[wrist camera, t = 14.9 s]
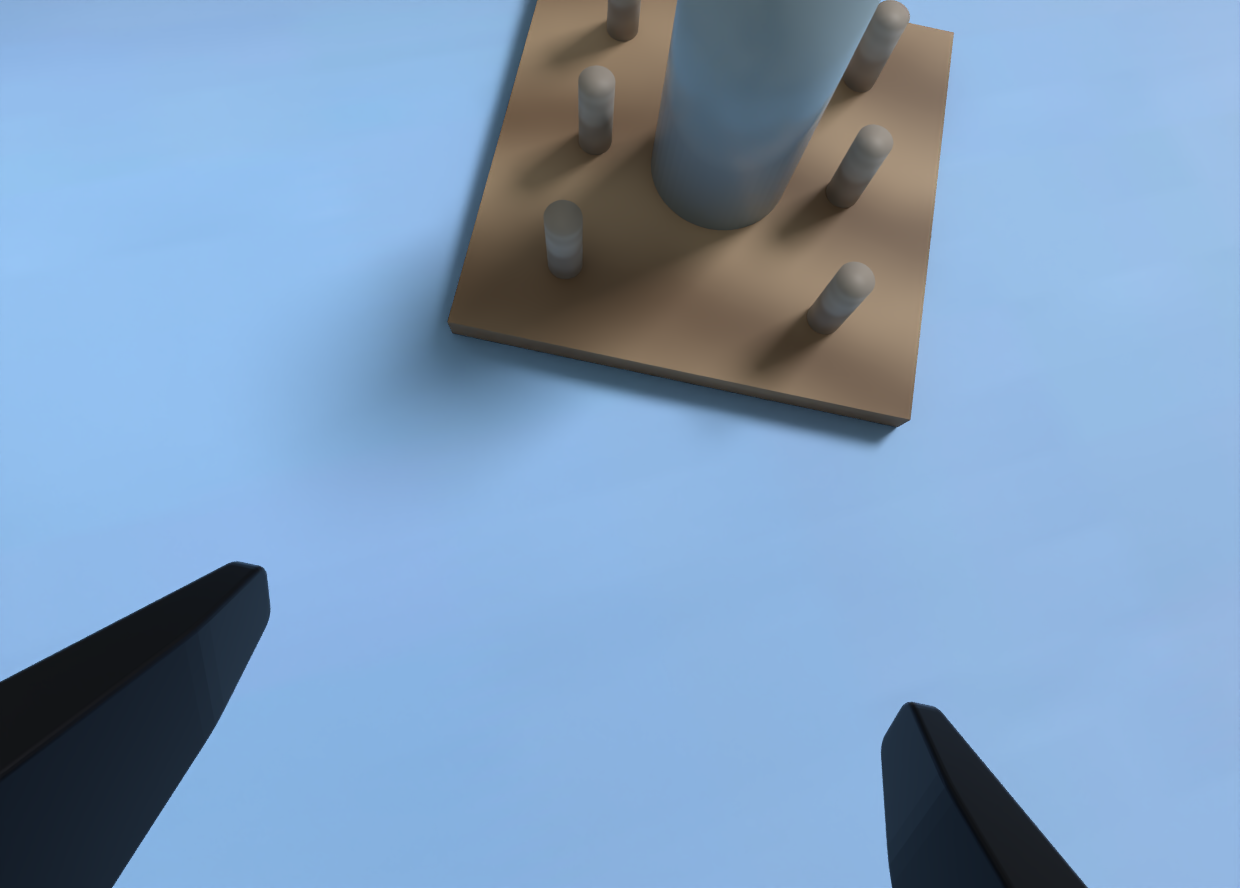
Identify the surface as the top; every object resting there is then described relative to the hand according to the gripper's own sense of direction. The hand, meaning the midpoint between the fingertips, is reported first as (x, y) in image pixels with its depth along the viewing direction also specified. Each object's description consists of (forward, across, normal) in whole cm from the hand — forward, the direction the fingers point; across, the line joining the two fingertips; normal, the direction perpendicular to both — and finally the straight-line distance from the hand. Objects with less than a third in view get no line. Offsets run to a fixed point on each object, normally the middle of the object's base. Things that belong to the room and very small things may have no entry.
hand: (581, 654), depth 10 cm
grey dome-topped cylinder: (+21, -2, -3) cm, 21 cm away
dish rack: (+22, -1, -2) cm, 22 cm away
